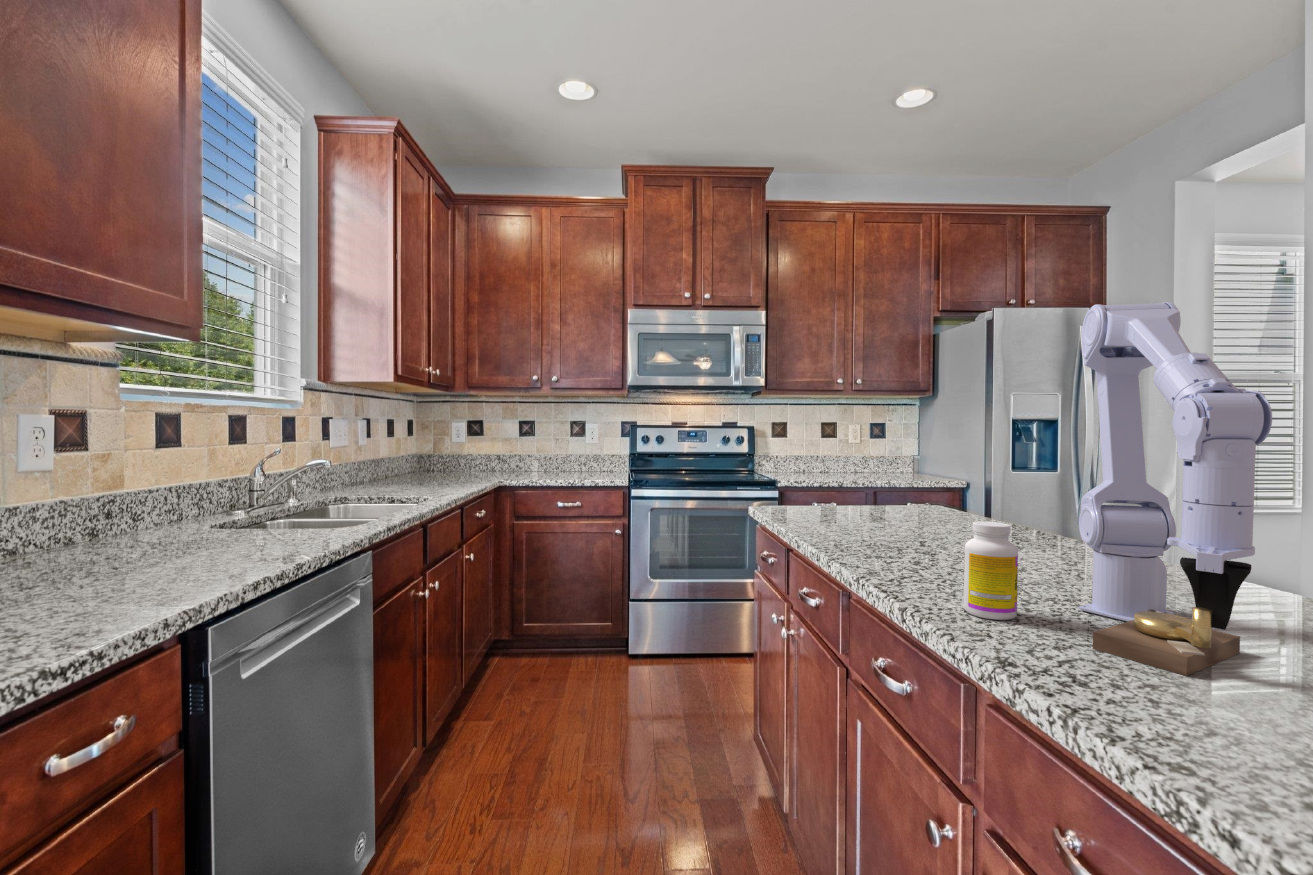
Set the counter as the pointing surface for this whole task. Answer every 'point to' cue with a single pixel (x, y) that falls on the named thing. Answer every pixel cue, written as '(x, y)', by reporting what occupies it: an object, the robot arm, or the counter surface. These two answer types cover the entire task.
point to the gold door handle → (1177, 626)
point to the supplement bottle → (991, 572)
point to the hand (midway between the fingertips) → (1212, 626)
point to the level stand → (1164, 648)
